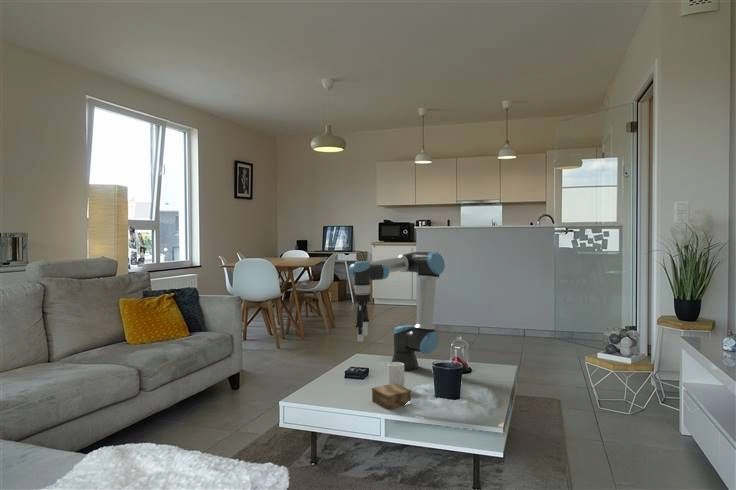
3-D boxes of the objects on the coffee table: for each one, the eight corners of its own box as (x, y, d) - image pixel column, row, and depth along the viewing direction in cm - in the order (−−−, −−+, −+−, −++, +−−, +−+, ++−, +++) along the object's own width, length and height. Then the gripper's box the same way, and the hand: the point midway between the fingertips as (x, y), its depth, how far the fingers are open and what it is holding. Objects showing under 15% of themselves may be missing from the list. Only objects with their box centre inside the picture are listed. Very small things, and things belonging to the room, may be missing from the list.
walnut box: (394, 396, 219) (394, 383, 219) (411, 404, 209) (411, 390, 209) (371, 401, 212) (371, 388, 212) (388, 410, 202) (388, 395, 202)
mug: (409, 393, 224) (409, 367, 224) (392, 394, 222) (392, 368, 222) (401, 385, 235) (401, 361, 235) (384, 387, 233) (384, 362, 233)
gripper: (358, 290, 242) (359, 332, 242) (349, 297, 217) (350, 343, 218) (373, 290, 241) (374, 333, 241) (366, 297, 216) (366, 344, 217)
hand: (362, 338), depth 230 cm, fingers open, 13 cm apart
